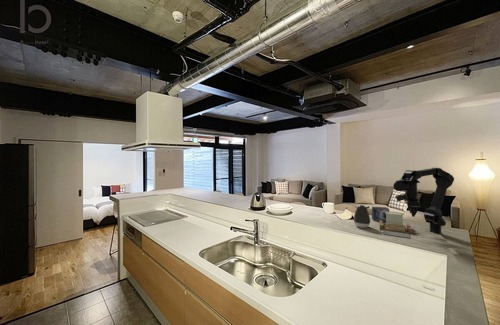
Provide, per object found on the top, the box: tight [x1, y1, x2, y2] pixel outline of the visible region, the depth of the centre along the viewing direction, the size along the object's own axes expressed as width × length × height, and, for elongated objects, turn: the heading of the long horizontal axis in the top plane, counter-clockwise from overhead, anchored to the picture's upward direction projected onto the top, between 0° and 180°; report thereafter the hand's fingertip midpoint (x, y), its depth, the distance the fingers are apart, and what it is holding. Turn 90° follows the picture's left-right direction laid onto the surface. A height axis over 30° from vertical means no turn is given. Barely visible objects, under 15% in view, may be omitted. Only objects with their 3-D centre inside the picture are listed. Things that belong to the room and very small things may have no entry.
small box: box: [371, 206, 390, 223], centre depth 159 cm, size 11×6×10 cm, turn 72°
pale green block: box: [385, 212, 404, 225], centre depth 142 cm, size 3×9×10 cm, turn 59°
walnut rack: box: [378, 220, 413, 235], centre depth 140 cm, size 15×17×3 cm
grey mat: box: [383, 231, 411, 239], centre depth 129 cm, size 7×13×1 cm, turn 58°
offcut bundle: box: [384, 222, 406, 232], centre depth 136 cm, size 2×11×4 cm, turn 58°
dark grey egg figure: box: [353, 204, 371, 229], centre depth 145 cm, size 10×10×15 cm
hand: (412, 214), depth 131 cm, fingers open, 9 cm apart
